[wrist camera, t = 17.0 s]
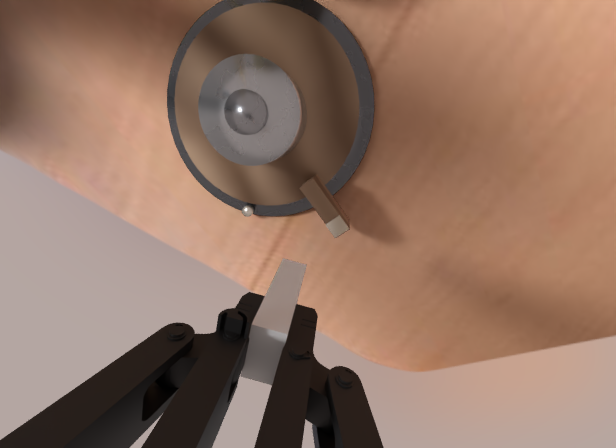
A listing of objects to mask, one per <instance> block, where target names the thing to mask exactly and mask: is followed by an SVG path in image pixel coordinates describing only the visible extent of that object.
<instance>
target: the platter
mask: <svg viewBox="0 0 616 448" xmlns="http://www.w3.org/2000/svg"><path fill="white" fill-rule="evenodd" d="M238 54H254V55H258V56H261V57H264V58H266V59H268V60H270V61H272V62H274V63H275V64H276V65H277V66H279V67H280V68H281V69H282V70H283V71H284V72H286V73H287V74H288V75H289V76H290V77H291V78H292V79H293V80H294V81H295V82H296V84H297V85H298V86H299V88H300V90H301V92H302V94H303V96H304V99H305V103H306V109H307V121H306V127H305V130H304V133H303V136H302V138H301V140H300V141H299V143H298V144H297V145H296V147H295V148H294V149H293V150H292V151H290V152H289V153H288V154H286V155H285V156H283V157H281V158H278V159H276V160H274V161H272V162H269V163H266V164H263V165H258V166H246V165H241V164H237V163H234V162H232V161H230V160H228V159H226V158H225V157H223V156H222V155H221V154H219V153H218V152H217V151H216V150H215V149H214V147H213V146H212V145H211V144H210V142H209V141H208V139H207V138H206V136H205V134H204V132H203V129H202V126H201V123H200V119H199V112H198V102H199V95H200V90H201V87H202V84H203V82H204V80H205V78H206V77H207V75H208V74H209V72H210V71H211V70H212V69H213V68H214V67H215V66H216V65H217V64H218V63H219V62H221V61H222V60H224V59H226V58H228V57H231V56H234V55H238ZM175 115H176V121H177V126H178V130H179V133H180V137H181V140H182V142H183V144H184V147H185V149H186V151H187V153H188V155H189V157H190V158H191V160H192V161H193V163H194V164H195V166H196V167H197V169H198V170H199V171H200V172H201V173H202V174H203V175H204V177H205V178H206V179H207V180H209V181H210V182H211V183H212V184H213V185H214V186H215V187H217V188H218V189H220V190H221V191H223V192H224V193H226V194H228V195H230V196H232V197H234V198H236V199H239V200H241V201H244V202H248V203H252V204H257V205H282V204H288V203H292V202H295V201H299V200H301V199H303V198H305V197H306V198H307V199H308V201H309V202H310V203H311V205H312V206H313V207H314V209H315V210H316V211H317V213H318V214H319V216H320V217H321V218H322V220H323V221H324V222H325V224H326V226H327V228H328V229H329V231H330V232H331V233H332V235H333V236H334V237H335V238H337V237H338V236H340V235H341V234H343V233H345V232H346V231H348V230H349V229H350V222H349V218H348V217H347V215H346V214H345V213H344V211H343V210H342V208H341V207H340V206H339V204H338V203H337V201H336V200H335V199H334V197H333V196H332V194H331V193H330V192H329V190H328V189H327V187H326V186H325V184H327V183H328V182H329V181H330V180H331V179H332V178H333V177H334V175H335V174H336V173H337V172H338V171H339V169H340V168H341V166H342V165H343V164H344V162H345V160H346V158H347V156H348V154H349V153H350V150H351V148H352V145H353V142H354V140H355V136H356V132H357V128H358V120H359V94H358V86H357V82H356V79H355V75H354V71H353V69H352V66H351V64H350V61H349V59H348V57H347V55H346V54H345V52H344V50H343V48H342V47H341V45H340V44H339V43H338V41H337V40H336V38H335V37H334V36H333V35H332V34H331V33H330V32H329V31H328V30H327V29H326V28H325V27H324V26H323V25H322V24H321V23H319V22H318V21H317V20H315V19H314V18H313V17H311V16H309V15H308V14H306V13H304V12H302V11H300V10H298V9H295V8H292V7H290V6H286V5H281V4H276V3H253V4H246V5H243V6H239V7H236V8H233V9H231V10H229V11H227V12H225V13H223V14H221V15H220V16H218V17H217V18H215V19H214V20H212V21H211V22H210V23H209V24H208V25H206V26H205V27H204V28H203V29H202V30H201V31H200V33H199V34H198V35H197V36H196V37H195V39H194V40H193V42H192V43H191V45H190V46H189V48H188V50H187V52H186V54H185V56H184V58H183V60H182V63H181V66H180V69H179V72H178V76H177V81H176V86H175Z"/></svg>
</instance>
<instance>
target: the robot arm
mask: <svg viewBox="0 0 616 448" xmlns="http://www.w3.org/2000/svg"><path fill="white" fill-rule="evenodd" d="M306 266H307V265H306V264H303V263H299V262H295V261H291V260H288V259H284V258H283V260H282V262H281V264H280V266H279V268H278V270H277V272H276V274H275V276H274V278H273V281H272V283H271V285H270V287H269V289H268V291H267V293H266V295H265V296H262V295H258V294H255V293H251V292H249V293H247V294H245V295H244V296H242V298H241V299H240V301H239V303H238V304H237V306H236V308H232V309H226V310H224V311H222V312H221V313H220V314H219V316H218V322H217V328H216V332H214V333H210V334H194V333H195V332H194V330H193V328H192V327H191V326H190V325H188V324H185V323H172V324H169V325H167V326H165V327H163V328H161V329H160V330H159V331H157V332H156V333H154V334H153V335H151V336H150V337H148V338H147V339H146V340H144V341H143V342H141V343H140V344H138V345H137V346H135V347H134V348H133V349H131V350H130V351H128V352H127V353H125V354H124V355H123V356H121V357H120V358H118V359H117V360H115V361H114V362H112V363H111V364H109V365H108V366H107V367H105V368H104V369H102V370H101V371H99V372H98V373H97V374H95V375H94V376H92V377H91V378H89V379H88V380H87V381H85V382H84V383H82V384H81V385H79V386H78V387H76V388H75V389H74V390H72V391H71V392H69V393H68V394H66V395H65V396H63V397H62V398H60V399H59V400H58V401H56V402H55V403H53V404H52V405H50V406H49V407H47V408H46V409H45V410H43V411H42V412H40V413H39V414H37V415H36V416H34V417H33V418H32V419H30V420H29V421H27V422H26V423H24V424H23V425H22V426H20V427H19V428H17V429H16V430H14V431H13V432H11V433H10V434H8V435H7V436H6V437H4V438H3V439H1V440H0V448H129V447H130V446H131V445H132V444H133V443H134V442H135V441H136V440H137V439H138V438H139V437H140V436H141V435H142V434H143V433H144V432H145V431H146V430H147V429H148V428H149V427H150V426H151V425H152V424H153V423H154V422H155V421H156V420H157V419H158V418H159V416H161V415H162V413H163V412H164V413H163V415H162V416H161V418H160V419H159V421H158V422H157V424H156V426H155V427H154V429H153V430H152V432H151V433H150V435H149V436H148V438H147V440H146V441H145V443H144V444H143V446H142V447H141V448H212V446H213V443H214V441H215V438H216V436H217V434H218V431H219V429H220V426H221V424H222V422H223V419H224V417H225V414H226V412H227V410H228V407H229V404H230V402H231V400H232V398H233V395H234V393H235V390H236V388H237V384H238V379H239V376H240V374H241V376H242V377H245V378H249V379H252V380H256V381H259V382H263V383H267V384H270V385H272V388H271V391H270V395H269V398H268V402H267V405H266V409H265V412H264V416H263V419H262V423H261V426H260V430H259V433H258V437H257V440H256V444H255V447H254V448H302V440H303V433H304V425H305V419H306V420H308V421H309V422H311V423H312V424H313V425H312V429H313V436H314V443H315V448H383V445H382V442H381V439H380V436H379V433H378V430H377V427H376V424H375V421H374V418H373V416H372V412H371V410H370V407H369V404H368V401H367V398H366V395H365V392H364V389H363V386H362V383H361V381H360V379H359V377H358V375H357V374H356V373H355V372H354V371H352V370H350V369H349V368H346V367H343V366H338V367H334V368H332V369H331V370H329V369H327V368H326V367H324V366H323V365H321V364H320V363H319V362H318V361H317V360H316V358H315V357H314V354H313V346H314V339H315V331H316V323H317V317H318V316H317V313H316V311H315V309H313V308H309V307H305V306H302V305H298V304H297V301H298V297H299V293H300V289H301V285H302V281H303V277H304V273H305V270H306ZM241 371H242V373H241Z"/></svg>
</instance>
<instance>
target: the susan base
mask: <svg viewBox="0 0 616 448" xmlns="http://www.w3.org/2000/svg"><path fill="white" fill-rule="evenodd" d="M253 3H276V4H281V5H286V6H290V7H292V8H295V9H298V10H300V11H302V12H304V13H306V14H308V15H309V16H311V17H313V18H314V19H315V20H317V21H318V22H319V23H321V24H322V25H323V26H324V27H325V28H326V29H327V30H328V31H329V32H330V33H331V34H332V35H333V36H334V37H335V38H336V40H337V41H338V43H339V44H340V45H341V47H342V48H343V50H344V52H345V54H346V55H347V57H348V59H349V61H350V64H351V66H352V69H353V71H354V75H355V79H356V82H357V86H358V94H359V120H358V128H357V132H356V136H355V140H354V142H353V145H352V148H351V150H350V153H349V154H348V156H347V158H346V160H345V162H344V164H343V165H342V166H341V168H340V169H339V171H338V172H337V173H336V174H335V175H334V177H333V178H332V179H331V180H330V181H329V182H328V183H327V184H325V186H326V187H327V189H328V190H329V192H330V193H331V194H332V196H333V195H334V194H335V193H336V192H337V191H338V190H339V189H341V188H342V187H343V185H344V184H345V183H346V182H347V181H348V180H349V179H350V177H351V176H352V175H353V173H354V172H355V170H356V169H357V167H358V166H359V164H360V162H361V160H362V158H363V156H364V154H365V151H366V148H367V145H368V143H369V140H370V136H371V131H372V127H373V118H374V92H373V86H372V79H371V75H370V72H369V69H368V65H367V62H366V60H365V58H364V55H363V53H362V51H361V48H360V47H359V45H358V43H357V42H356V40H355V39H354V37H353V35H352V34H351V33H350V31H349V30H348V29H347V28H346V26H345V25H344V24H343V23H342V22H341V21H340V20H339V19H338V18H337V17H336V16H335V15H334V14H333V13H332V12H331V11H329V10H328V9H326V8H325V7H323V6H322V5H320V4H319V3H317V2H316V1H313V0H223V1H221V2H219V3H217V4H216V5H215V6H213V7H212V8H210V9H209V10H208V11H206V12H205V13H204V14H203V15H202V16H201V17H200V18H199V19H198V20H197V21H196V22H195V23H194V25H193V26H192V27H191V28H190V30H189V31H188V32H187V34H186V35H185V37H184V39H183V41H182V42H181V44H180V46H179V48H178V50H177V53H176V55H175V58H174V60H173V64H172V67H171V71H170V75H169V82H168V89H167V108H168V118H169V123H170V128H171V132H172V135H173V138H174V141H175V144H176V147H177V149H178V151H179V153H180V156H181V158H182V159H183V161H184V163H185V164H186V166H187V168H188V169H189V171H190V172H191V173H192V174H193V176H194V177H195V178H196V180H197V181H198V182H199V183H200V184H201V185H202V186H203V187H204V188H205V189H206V190H207V191H209V192H210V193H211V194H212V195H214V196H215V197H216V198H218V199H219V200H221V201H222V202H224V203H226V204H228V205H230V206H232V207H234V208H236V209H238V210H241V211H242V213H243V215H244V216H247V217H248V216H251V215H252V214H256V215H262V216H285V215H291V214H296V213H299V212H302V211H305V210H308V209H311V208H313V206H312V205H311V203H310V202H309V201H308V199H307V198H306V197H305V198H303V199H301V200H299V201H295V202H292V203H288V204H282V205H257V204H252V203H248V202H244V201H241V200H239V199H236V198H234V197H232V196H230V195H228V194H226V193H224V192H223V191H221V190H220V189H218V188H217V187H215V186H214V185H213V184H212V183H211V182H210V181H209V180H207V179H206V178H205V177H204V175H203V174H202V173H201V172H200V171H199V170H198V169H197V167H196V166H195V164H194V163H193V161H192V160H191V158H190V157H189V155H188V153H187V151H186V149H185V147H184V144H183V142H182V140H181V137H180V133H179V130H178V126H177V121H176V115H175V86H176V81H177V76H178V72H179V69H180V66H181V63H182V60H183V58H184V56H185V54H186V52H187V50H188V48H189V46H190V45H191V43H192V42H193V40H194V39H195V37H196V36H197V35H198V34H199V33H200V31H201V30H202V29H203V28H204V27H205V26H206V25H208V24H209V23H210V22H211V21H212V20H214V19H215V18H217V17H218V16H220V15H221V14H223V13H225V12H227V11H229V10H231V9H233V8H236V7H239V6H243V5H246V4H253Z"/></svg>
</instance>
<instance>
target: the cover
mask: <svg viewBox="0 0 616 448" xmlns="http://www.w3.org/2000/svg"><path fill="white" fill-rule="evenodd" d="M198 112H199V119H200V123H201V126H202V129H203V132H204V134H205V136H206V138H207V139H208V141H209V142H210V144H211V145H212V146H213V147H214V149H215V150H216V151H217V152H218V153H219V154H221V155H222V156H223V157H225V158H226V159H228V160H230V161H232V162H234V163H237V164H241V165H246V166H258V165H263V164H266V163H269V162H272V161H274V160H276V159H278V158H281V157H283V156H285V155H286V154H288V153H289V152H290V151H292V150H293V149H294V148H295V147H296V145H297V144H298V143H299V141H300V140H301V138H302V136H303V133H304V130H305V127H306V121H307V109H306V103H305V99H304V96H303V94H302V92H301V90H300V88H299V86H298V85H297V84H296V82H295V81H294V80H293V79H292V78H291V77H290V76H289V75H288V74H287V73H286V72H284V71H283V70H282V69H281V68H280V67H279V66H277V65H276V64H275V63H274V62H272V61H270V60H268V59H266V58H264V57H261V56H258V55H254V54H238V55H234V56H231V57H228V58H226V59H224V60H222V61H221V62H219V63H218V64H217V65H216V66H215V67H214V68H213V69H212V70H211V71H210V72H209V74H208V75H207V77H206V78H205V80H204V82H203V84H202V87H201V90H200V95H199V102H198Z"/></svg>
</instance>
